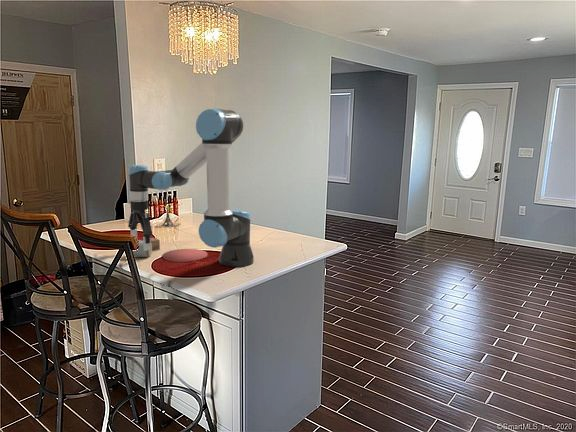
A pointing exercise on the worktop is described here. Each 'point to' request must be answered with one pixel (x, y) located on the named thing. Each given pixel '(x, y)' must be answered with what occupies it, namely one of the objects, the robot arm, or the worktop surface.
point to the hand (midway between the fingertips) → (140, 246)
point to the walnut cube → (155, 244)
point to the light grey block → (142, 250)
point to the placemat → (184, 255)
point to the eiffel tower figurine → (169, 221)
